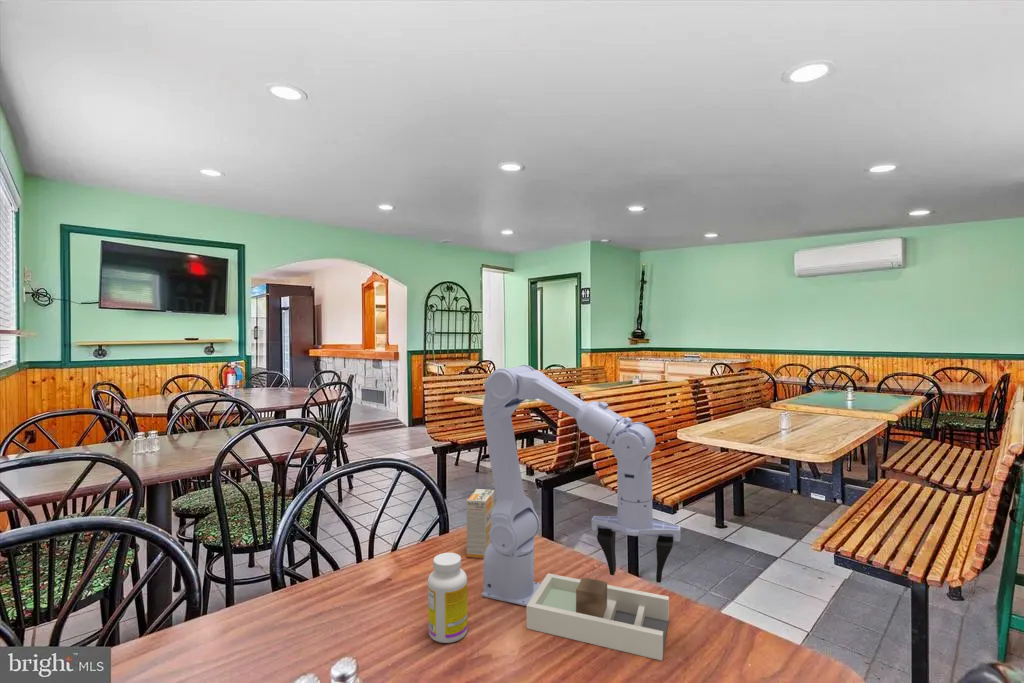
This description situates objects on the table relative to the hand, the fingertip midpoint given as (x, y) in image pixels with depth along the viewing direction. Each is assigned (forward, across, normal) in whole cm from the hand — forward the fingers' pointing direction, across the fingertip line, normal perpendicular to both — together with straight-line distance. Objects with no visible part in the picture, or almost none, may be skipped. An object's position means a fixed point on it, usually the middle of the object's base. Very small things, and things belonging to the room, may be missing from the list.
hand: (635, 576), depth 86 cm
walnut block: (+8, -8, 0) cm, 11 cm away
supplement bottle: (+9, -30, -12) cm, 33 cm away
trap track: (+10, -6, 0) cm, 11 cm away
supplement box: (+9, -37, +18) cm, 43 cm away
